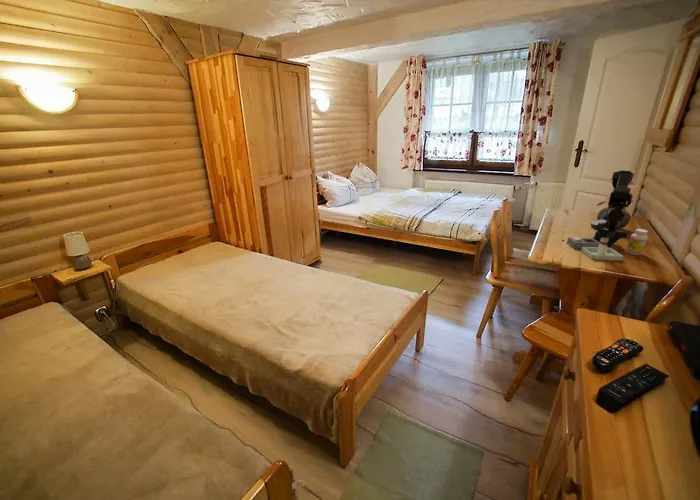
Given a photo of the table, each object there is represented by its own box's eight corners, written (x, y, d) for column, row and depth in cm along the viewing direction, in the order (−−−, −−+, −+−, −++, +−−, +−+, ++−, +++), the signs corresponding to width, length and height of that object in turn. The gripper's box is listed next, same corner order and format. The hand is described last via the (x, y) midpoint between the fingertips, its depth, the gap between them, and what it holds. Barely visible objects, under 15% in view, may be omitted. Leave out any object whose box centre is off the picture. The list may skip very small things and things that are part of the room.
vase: (630, 233, 196) (648, 185, 184) (597, 231, 201) (612, 183, 190) (619, 225, 211) (634, 180, 199) (588, 223, 216) (601, 178, 204)
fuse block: (591, 244, 181) (593, 237, 180) (599, 249, 174) (601, 242, 172) (566, 243, 183) (568, 236, 181) (573, 248, 176) (575, 241, 174)
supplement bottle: (622, 250, 172) (630, 228, 167) (634, 250, 172) (643, 228, 167) (631, 255, 166) (640, 232, 161) (644, 255, 166) (653, 232, 161)
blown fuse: (602, 253, 168) (607, 237, 164) (607, 256, 164) (612, 240, 161) (594, 253, 168) (599, 237, 165) (598, 256, 165) (603, 240, 161)
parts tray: (609, 252, 170) (610, 248, 169) (622, 260, 160) (623, 256, 159) (580, 251, 172) (582, 246, 171) (591, 259, 162) (593, 255, 161)
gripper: (586, 210, 167) (578, 237, 174) (607, 220, 150) (597, 251, 157) (609, 210, 166) (600, 238, 172) (633, 221, 149) (622, 252, 155)
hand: (604, 244), depth 164 cm, fingers open, 7 cm apart
